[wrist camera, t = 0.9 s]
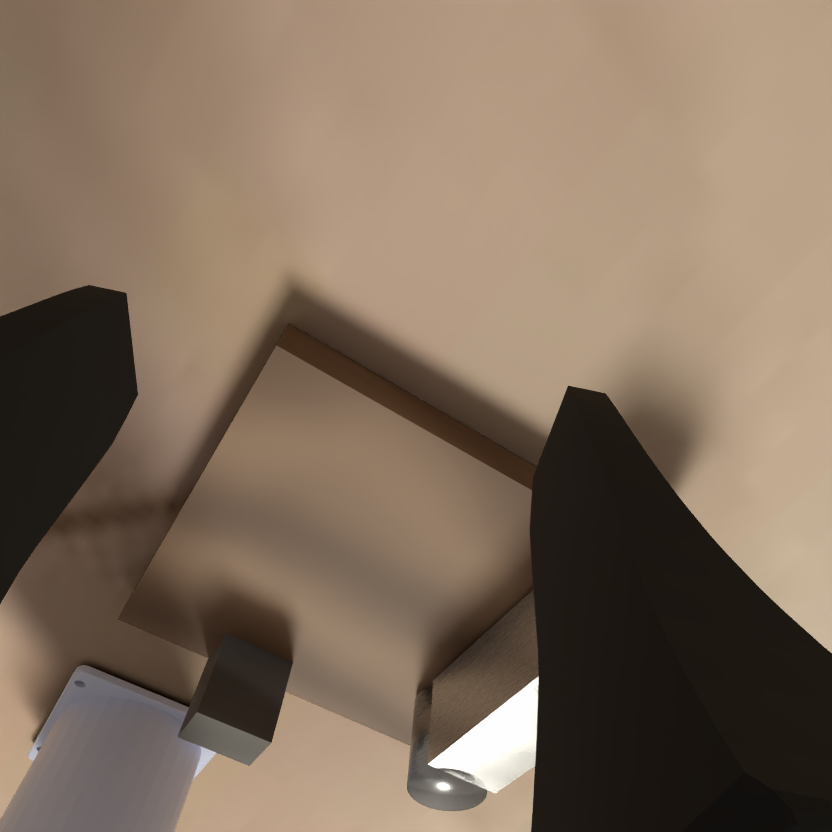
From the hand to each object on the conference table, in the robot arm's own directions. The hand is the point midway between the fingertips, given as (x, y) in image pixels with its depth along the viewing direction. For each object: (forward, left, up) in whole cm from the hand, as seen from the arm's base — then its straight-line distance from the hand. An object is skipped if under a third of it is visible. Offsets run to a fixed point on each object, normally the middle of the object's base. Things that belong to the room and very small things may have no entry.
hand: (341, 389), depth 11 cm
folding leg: (-11, -12, -8) cm, 18 cm away
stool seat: (-12, -6, -9) cm, 17 cm away
